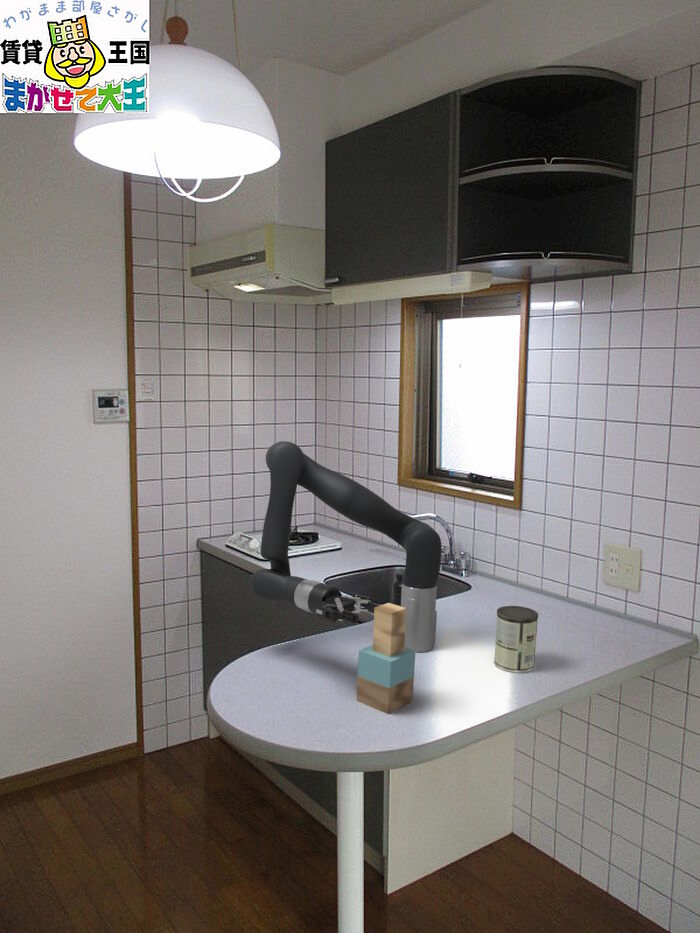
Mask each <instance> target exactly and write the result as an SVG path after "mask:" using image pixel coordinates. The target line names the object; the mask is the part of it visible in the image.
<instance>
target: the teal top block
mask: <svg viewBox="0 0 700 933" xmlns="http://www.w3.org/2000/svg"><path fill="white" fill-rule="evenodd" d="M415 663H416V652H415V651H414V650H411V649H408V648H405V647H404V652H401V653H399V654H396V655H394V656H392V657H388V656H385V655H383V654H380V653H377V652H375V651H373V644H372V645H369V646H367V647H366V646H365V647H364V648H361V649H358V663H357V665H358V666H357V676H359V677H362V678H364V679H367V680H369V681H372V682H374V683H377V684H380V685H382V686H385V687H387V688H391V687H393V686H395V685H398V684H400V683H402V682H404V681H406V680H408V679H410V678H412V677H415V665H416V664H415Z"/></svg>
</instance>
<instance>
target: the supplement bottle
mask: <svg viewBox="0 0 700 933" xmlns="http://www.w3.org/2000/svg"><path fill="white" fill-rule="evenodd" d="M404 571H405V570H400V571H399V570H398V571H396V572H395V580H394V581H393V582H392V585H391V604H394V605H398V606H401V592H402V575H403V572H404Z"/></svg>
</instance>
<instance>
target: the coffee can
mask: <svg viewBox="0 0 700 933" xmlns="http://www.w3.org/2000/svg"><path fill="white" fill-rule="evenodd" d="M538 618H539V613H538V611H536V610H534V609H532V608H529V607H524V606H521V605H520V606H518V605H505V606H504V605H503V606H500V607H498V608H497V609H496V628H495V644H494V659H493V664H495V665H494V667H496V668H498V669H500V670H501V669H502V671H505V672H509V673H513V674H514V673H515V674H516V673H517V674H525V673H526V674H527V673H530V672H531V671H533V670H534V669H535V658H536V648H537V647H536V645H537V635H538V634H537V631H538Z"/></svg>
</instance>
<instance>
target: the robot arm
mask: <svg viewBox="0 0 700 933" xmlns="http://www.w3.org/2000/svg"><path fill="white" fill-rule="evenodd" d="M265 462H266V463H265V464H266V467H267V469H268V470H269V472H270V473H269V475H270V476H269V477H270V487H269V488H270V489H269V497H268V504H267V508H266V513H265V517H264V520H263V521H264V522H263V526H262V534H261V542H260V549H259V550H260V556H261V557H262V558H263V559H265V560H267V561H269V562H270V568H264V569H259V570H257V571H254V573H252V575H251V576H250V579H249V588H250V590H251V592H252V593H253V595H255V596H256V597H258V598H260V599H264V600H268V601H273V602H279V603H280V602H281V603H285V604H288V605H290V606H293V607H296V608H300V609H301V610H303V611H305V612H308V613H309V614H310V613H311V614H313V615H316V617H318V618H321V619H324V620H326V621H328V622H331V623H336V622H337V620H338V621H340V622H343V621H344V622H348V623H351V624H354V625H356V624H358V623H359V613H361V612H368V613H370V614H373V615H374V608H375V607H378V606H381V605H382V604H378V603H374V599H375V598H374V597H370V596H367V595H364V594H360V593H355V592H354V593H352V594H351V595H352V596H349V595H346V594H345V595H344V594H342V593H341V591H340V589H339V588H338V587H336V586H333V585H330V584H327V583H323V582H320V581H318V580H313V579H312V580H311V579H307V578H303V577H301V576H300V577H299V576H295V575H292V573H291V567H290V559H289V547H290V538H291V531H292V530H291V528H292V519H293V509H294V502H295V497H296V492H297V489H298V488H297V487H298V486H300V487H302V488H303V489H305V490H307V491H308V492H310V493H311V494H312V495H314V496H315V497H317V498H318V499H319V500H320V501H321V502H323V503H324V504H326V506H328V507H330V508H331V509H332V510H334V511H335V512H337V513H338V514H340V515H342V516H344V517H345V518H346V519H348V520H351V521H352V522H354V523H356V524H358V525H361V526H363V527H366V528H369V529H372V530H374V531H378V532H380V533H382V534H383V535H385V536H387V537H389V538H390V539H391V540H392V541H394V542H395V543H396V544H398V545H399V546H401V547H402V548H403V549H404V550H405V552H406V553H405V554H406V555H405V568H404V570H403V571H404V572H403V575H402V592H401V607H404V608H406V624H405V644H404V647H405V648H408V649H411V650H414V651H415V653H424V652H425V653H426V652H429V651H431V650H433V649H434V646H435V645H436V637H437V636H436V635H437V634H436V632H437V616H438V615H437V614H438V611H437V610H436V609H437V608H436V607H437V606H436V605H437V586H438V579H439V576H440V573H441V572H440V571H441V561H442V560H441V559H442V539H441V537H440V535H439V533H438V532H437V531H436V530H435V529H434V528H433V527H432V526H431V525H429V524H428V523H426V522H424V521H422V520H418V519H416V518H414V517H412V516H410V515H408V514H406V513H404V512H401V511H400V510H398V509H397V508H395V507H394V506H392V505H391V504H390V503H389V502H387V501H386V500H385V499H383V498H382V497H381V496H379V495H378V494H376V493H375V492H373V491H372V490H371V489H369V488H367V487H366V486H364V485H362V484H361V483H359V482H358V481H356V480H354V479H352V478H350V477H348V476H346V475H343V474H342V473H339V472H337V471H335V470H332V469H330V468H326V466H323V465H322V464H320V463H318V462H317V461H316V460H313V459H312V458H311V457H309V456H308V455H307V454H306V453H304V452H303V450H302V449H301V447H300V446H299V445H297V444H296V443H294V442H292V441H285V440H284V441H283V440H282V441H278V442H275V443H273V444H272V445H271V446H269V448H268V450H267V452H266V454H265ZM355 607H356V608H355Z"/></svg>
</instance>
